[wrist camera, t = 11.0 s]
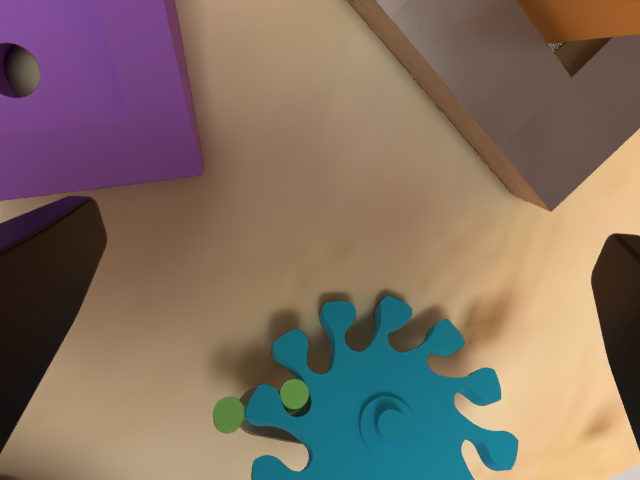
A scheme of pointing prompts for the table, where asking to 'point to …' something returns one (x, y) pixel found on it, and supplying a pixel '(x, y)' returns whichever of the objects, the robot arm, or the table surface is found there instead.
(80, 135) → the bracket
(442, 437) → the gear
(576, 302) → the table surface
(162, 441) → the table surface
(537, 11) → the tall orange pillar
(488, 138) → the slotted square tile
